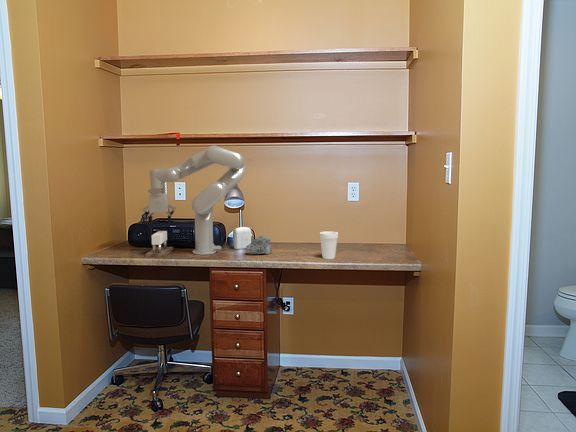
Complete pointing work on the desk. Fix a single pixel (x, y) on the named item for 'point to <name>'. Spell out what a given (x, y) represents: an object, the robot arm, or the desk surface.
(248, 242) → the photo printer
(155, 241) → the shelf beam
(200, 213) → the robot arm
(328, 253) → the foam cup
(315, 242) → the desk surface
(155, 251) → the peg stand
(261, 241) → the mineral rock
